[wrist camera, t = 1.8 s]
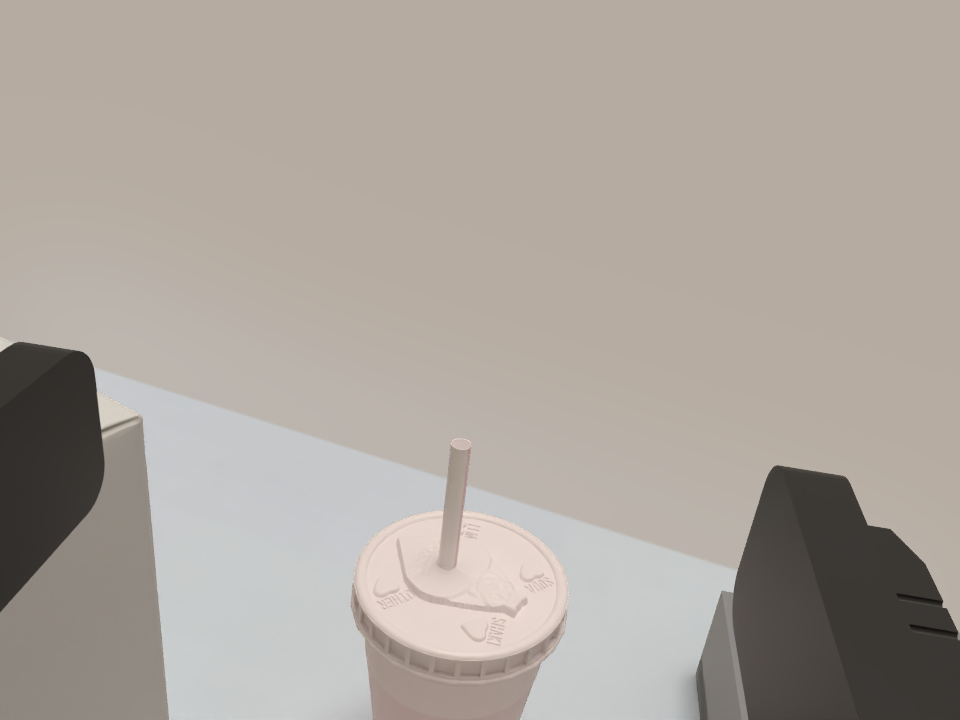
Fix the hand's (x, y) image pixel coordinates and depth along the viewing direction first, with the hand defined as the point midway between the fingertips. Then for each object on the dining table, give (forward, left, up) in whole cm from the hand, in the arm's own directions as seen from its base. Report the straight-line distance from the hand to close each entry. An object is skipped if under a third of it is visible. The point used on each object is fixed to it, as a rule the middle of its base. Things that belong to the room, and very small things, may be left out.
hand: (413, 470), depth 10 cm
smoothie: (0, +11, -21) cm, 24 cm away
